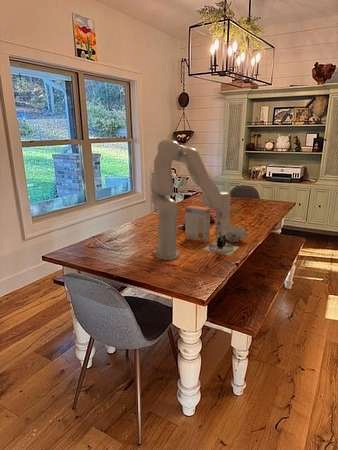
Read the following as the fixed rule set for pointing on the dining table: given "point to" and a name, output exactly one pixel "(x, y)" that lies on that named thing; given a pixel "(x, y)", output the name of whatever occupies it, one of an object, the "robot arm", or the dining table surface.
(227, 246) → the lid
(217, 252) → the mat
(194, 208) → the cracker box
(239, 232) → the teacup
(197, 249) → the dining table surface
